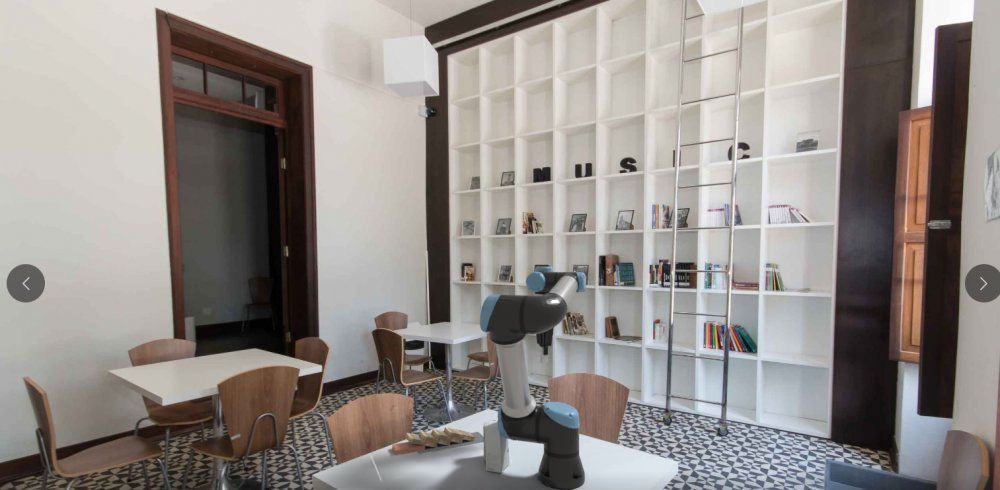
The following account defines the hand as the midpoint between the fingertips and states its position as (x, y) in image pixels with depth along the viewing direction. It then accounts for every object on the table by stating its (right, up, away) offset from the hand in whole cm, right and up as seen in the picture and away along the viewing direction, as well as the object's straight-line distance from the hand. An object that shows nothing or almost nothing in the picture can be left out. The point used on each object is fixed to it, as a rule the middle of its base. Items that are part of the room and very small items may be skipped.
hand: (544, 362), depth 179 cm
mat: (-37, -30, -6) cm, 48 cm away
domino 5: (-29, -29, -2) cm, 41 cm away
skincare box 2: (-19, -29, -27) cm, 44 cm away
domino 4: (-34, -29, -4) cm, 45 cm away
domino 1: (-47, -29, -11) cm, 56 cm away
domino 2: (-43, -29, -9) cm, 53 cm away
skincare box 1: (-21, -30, -20) cm, 41 cm away
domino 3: (-38, -29, -6) cm, 48 cm away
